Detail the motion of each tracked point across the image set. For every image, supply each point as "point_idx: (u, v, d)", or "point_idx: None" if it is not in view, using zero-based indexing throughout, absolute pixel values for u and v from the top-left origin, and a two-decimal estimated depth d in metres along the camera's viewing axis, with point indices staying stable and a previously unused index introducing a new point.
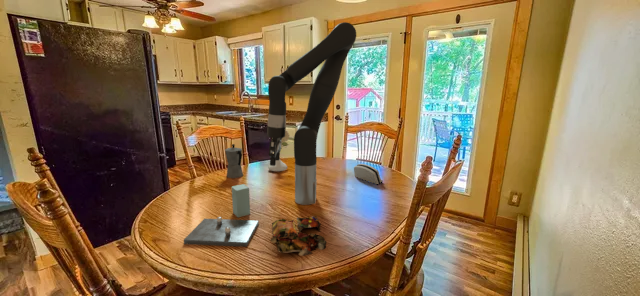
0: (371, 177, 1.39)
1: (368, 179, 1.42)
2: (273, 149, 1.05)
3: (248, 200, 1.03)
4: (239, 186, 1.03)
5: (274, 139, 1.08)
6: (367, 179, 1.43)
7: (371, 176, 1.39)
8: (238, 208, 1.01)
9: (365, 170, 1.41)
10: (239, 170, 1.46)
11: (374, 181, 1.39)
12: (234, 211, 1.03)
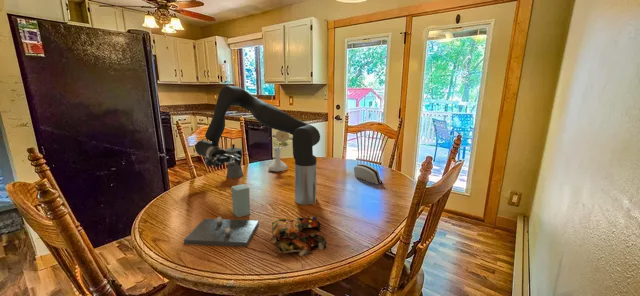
0: (371, 177, 1.39)
1: (368, 179, 1.42)
2: (206, 160, 1.11)
3: (248, 200, 1.03)
4: (239, 186, 1.03)
5: None
6: (367, 179, 1.43)
7: (371, 176, 1.39)
8: (238, 208, 1.01)
9: (365, 170, 1.41)
10: (239, 170, 1.46)
11: (374, 181, 1.39)
12: (234, 211, 1.03)
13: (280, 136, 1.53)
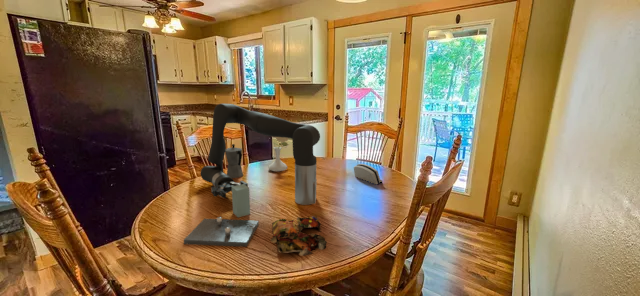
0: (370, 177, 1.39)
1: (367, 179, 1.42)
2: (212, 190, 1.09)
3: (248, 200, 1.03)
4: (239, 186, 1.03)
5: (218, 187, 1.14)
6: (367, 179, 1.43)
7: (370, 176, 1.39)
8: (238, 208, 1.01)
9: (364, 170, 1.41)
10: (239, 170, 1.46)
11: (373, 181, 1.39)
12: (234, 211, 1.03)
13: None
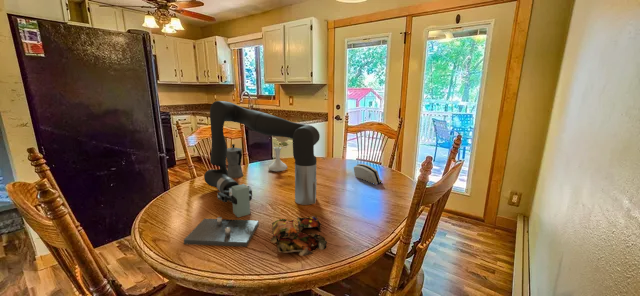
0: (370, 177, 1.39)
1: (367, 179, 1.42)
2: (220, 196, 1.03)
3: (248, 200, 1.03)
4: (239, 186, 1.03)
5: None
6: (366, 179, 1.43)
7: (370, 176, 1.39)
8: (238, 208, 1.01)
9: (364, 170, 1.41)
10: (239, 170, 1.46)
11: (373, 181, 1.39)
12: (234, 211, 1.03)
13: None
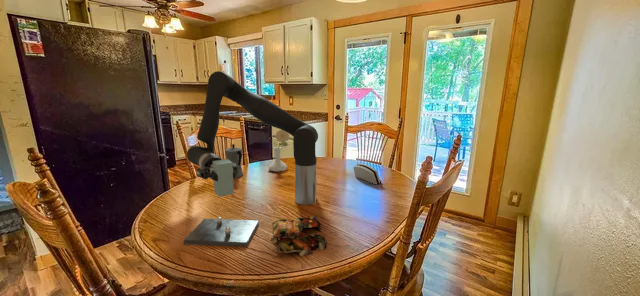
0: (370, 177, 1.39)
1: (367, 179, 1.42)
2: (200, 172, 0.89)
3: (231, 177, 0.88)
4: (221, 161, 0.89)
5: None
6: (366, 179, 1.43)
7: (370, 176, 1.39)
8: (219, 186, 0.86)
9: (364, 170, 1.41)
10: (239, 170, 1.46)
11: (373, 181, 1.39)
12: (215, 190, 0.89)
13: (280, 136, 1.53)
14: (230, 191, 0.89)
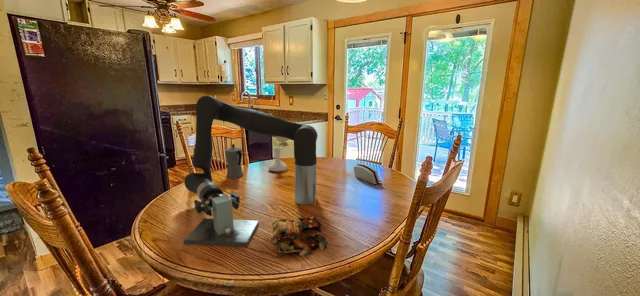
0: (369, 177, 1.39)
1: (367, 179, 1.42)
2: (195, 205, 0.88)
3: (231, 214, 0.88)
4: (221, 198, 0.88)
5: None
6: (366, 179, 1.43)
7: (369, 176, 1.39)
8: (219, 224, 0.86)
9: (363, 170, 1.41)
10: (239, 170, 1.46)
11: (372, 181, 1.39)
12: (215, 227, 0.89)
13: None
14: (230, 228, 0.88)
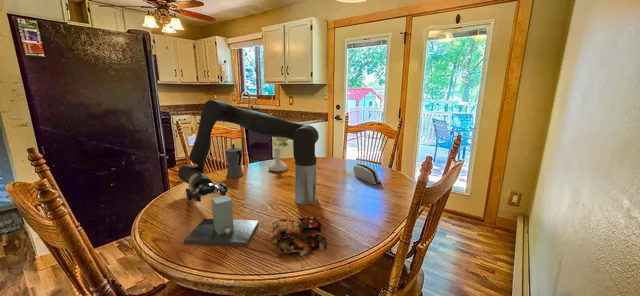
0: (369, 177, 1.39)
1: (366, 179, 1.42)
2: (186, 193, 0.98)
3: (231, 214, 0.88)
4: (221, 198, 0.88)
5: (193, 189, 1.03)
6: (365, 179, 1.43)
7: (369, 176, 1.39)
8: (219, 224, 0.86)
9: (363, 170, 1.41)
10: (239, 170, 1.46)
11: (371, 181, 1.39)
12: (215, 227, 0.89)
13: None
14: (230, 228, 0.88)
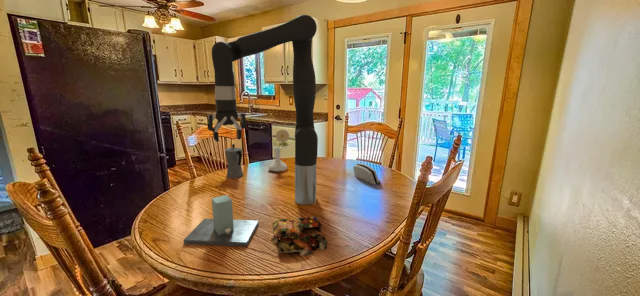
0: (368, 177, 1.39)
1: (366, 179, 1.42)
2: (208, 122, 0.98)
3: (231, 214, 0.88)
4: (221, 198, 0.88)
5: (216, 112, 1.00)
6: (365, 179, 1.43)
7: (368, 176, 1.39)
8: (219, 224, 0.86)
9: (363, 170, 1.41)
10: (239, 170, 1.46)
11: (371, 181, 1.39)
12: (215, 227, 0.89)
13: (280, 136, 1.53)
14: (230, 228, 0.88)
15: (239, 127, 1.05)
